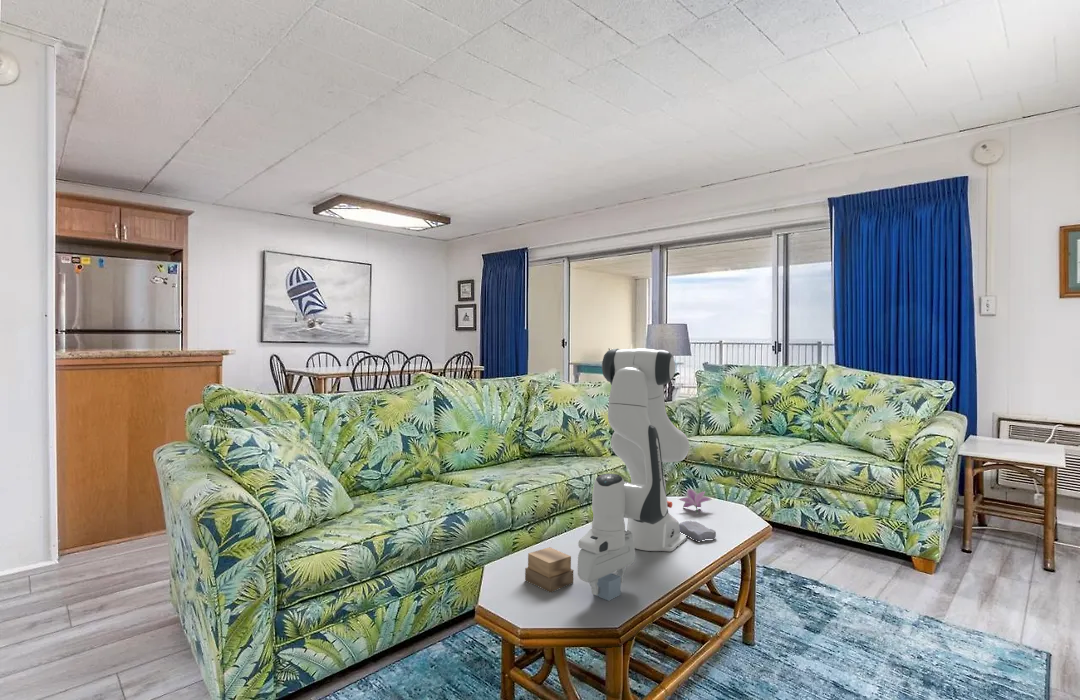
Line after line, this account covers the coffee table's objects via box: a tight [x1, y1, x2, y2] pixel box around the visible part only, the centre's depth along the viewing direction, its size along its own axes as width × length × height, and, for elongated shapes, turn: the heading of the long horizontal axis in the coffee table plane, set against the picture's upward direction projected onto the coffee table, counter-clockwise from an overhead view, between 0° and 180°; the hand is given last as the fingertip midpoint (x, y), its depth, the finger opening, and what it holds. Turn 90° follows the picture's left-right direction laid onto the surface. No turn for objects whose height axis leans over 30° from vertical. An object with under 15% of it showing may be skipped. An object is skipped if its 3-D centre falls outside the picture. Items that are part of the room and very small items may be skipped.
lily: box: [678, 488, 712, 512], centre depth 225 cm, size 12×12×10 cm
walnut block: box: [524, 566, 574, 593], centre depth 157 cm, size 9×10×4 cm
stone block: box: [679, 520, 717, 542], centre depth 197 cm, size 12×5×10 cm
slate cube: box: [595, 573, 622, 602], centre depth 149 cm, size 5×5×5 cm
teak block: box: [527, 546, 572, 578], centre depth 157 cm, size 8×9×4 cm
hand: (607, 588), depth 149 cm, fingers open, 8 cm apart
